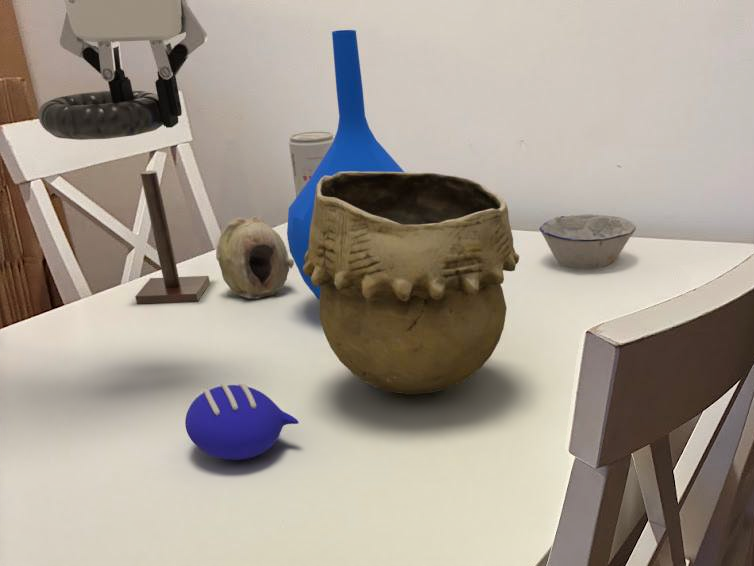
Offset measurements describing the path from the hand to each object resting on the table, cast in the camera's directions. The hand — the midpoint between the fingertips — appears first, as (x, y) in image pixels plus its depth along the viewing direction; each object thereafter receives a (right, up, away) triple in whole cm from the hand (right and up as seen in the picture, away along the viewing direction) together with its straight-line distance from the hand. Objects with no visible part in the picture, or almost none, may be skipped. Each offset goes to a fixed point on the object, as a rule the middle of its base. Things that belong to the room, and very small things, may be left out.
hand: (150, 123), depth 94 cm
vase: (+18, -8, +31) cm, 36 cm away
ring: (-4, +1, -1) cm, 4 cm away
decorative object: (+10, -32, -2) cm, 33 cm away
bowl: (+47, +3, +43) cm, 64 cm away
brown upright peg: (-9, -3, +38) cm, 39 cm away
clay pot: (+25, -23, +9) cm, 35 cm away
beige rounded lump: (+3, -3, +37) cm, 37 cm away
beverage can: (+8, +10, +55) cm, 56 cm away
